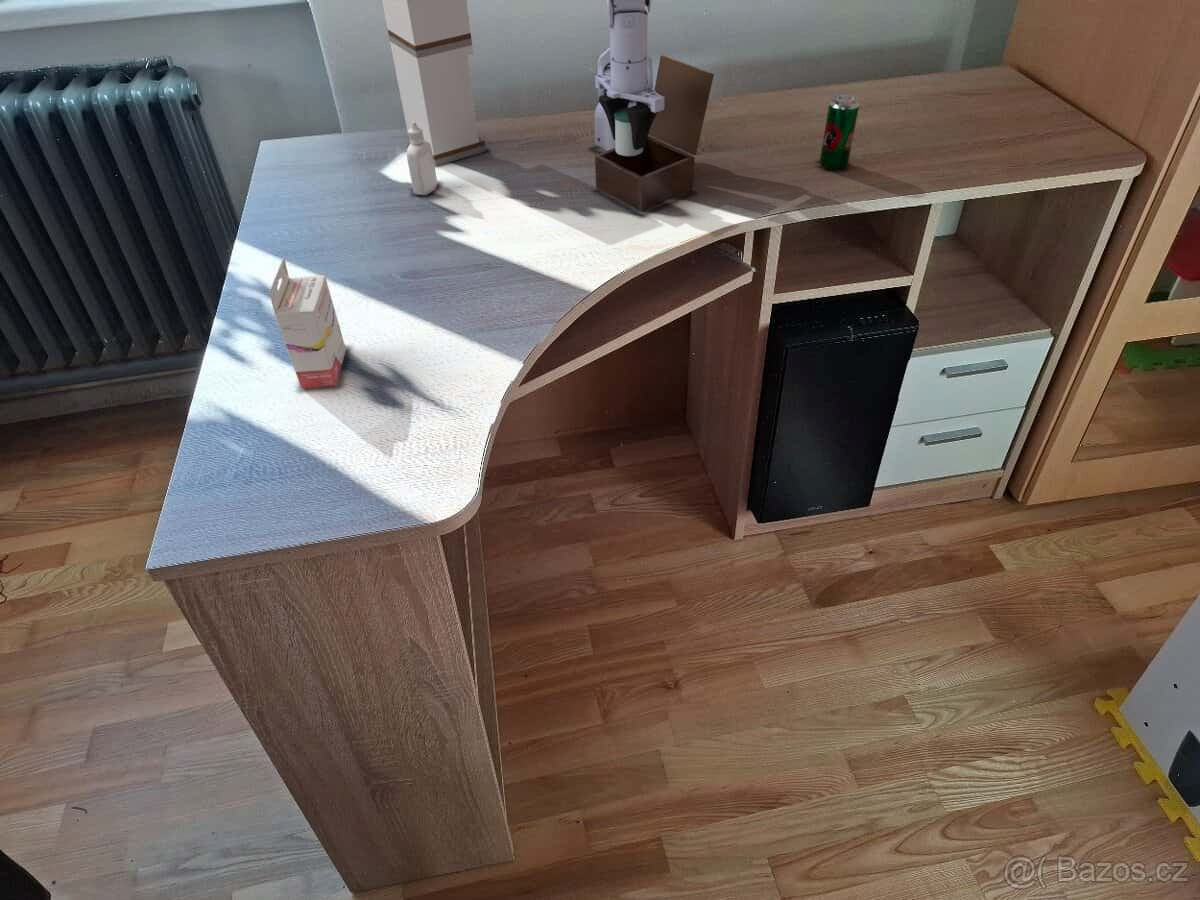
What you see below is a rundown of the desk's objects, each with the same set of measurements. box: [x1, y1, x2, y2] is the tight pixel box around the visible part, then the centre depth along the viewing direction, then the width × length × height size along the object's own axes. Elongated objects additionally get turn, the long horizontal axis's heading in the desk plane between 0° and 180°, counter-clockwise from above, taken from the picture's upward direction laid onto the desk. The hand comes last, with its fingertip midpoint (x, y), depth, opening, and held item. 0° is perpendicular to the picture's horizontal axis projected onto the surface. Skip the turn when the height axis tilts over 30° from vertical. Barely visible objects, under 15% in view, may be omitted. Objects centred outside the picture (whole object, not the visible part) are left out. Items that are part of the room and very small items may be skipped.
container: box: [614, 108, 643, 156], centre depth 134 cm, size 5×5×6 cm
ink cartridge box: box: [269, 258, 347, 389], centre depth 104 cm, size 9×5×15 cm, turn 5°
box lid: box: [648, 54, 715, 156], centre depth 137 cm, size 13×12×1 cm
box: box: [594, 135, 695, 213], centre depth 140 cm, size 12×12×6 cm
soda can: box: [819, 93, 860, 171], centre depth 144 cm, size 5×5×12 cm
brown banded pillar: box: [381, 0, 487, 167], centre depth 146 cm, size 11×11×35 cm
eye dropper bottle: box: [406, 121, 438, 196], centre depth 141 cm, size 4×6×12 cm
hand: (629, 142), depth 136 cm, fingers closed on container, 4 cm apart
